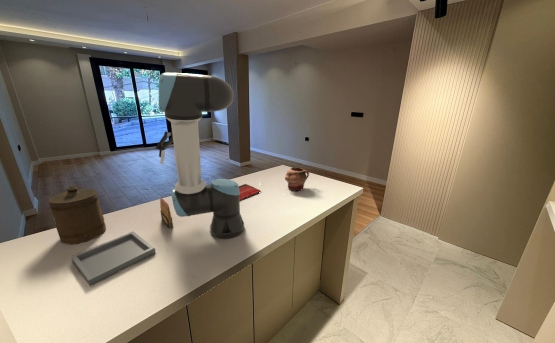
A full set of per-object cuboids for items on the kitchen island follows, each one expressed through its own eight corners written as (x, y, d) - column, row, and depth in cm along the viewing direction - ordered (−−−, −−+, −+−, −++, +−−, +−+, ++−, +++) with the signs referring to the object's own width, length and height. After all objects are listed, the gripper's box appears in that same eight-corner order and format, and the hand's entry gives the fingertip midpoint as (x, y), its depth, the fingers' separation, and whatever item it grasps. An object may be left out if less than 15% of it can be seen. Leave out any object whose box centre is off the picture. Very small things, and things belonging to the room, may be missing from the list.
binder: (220, 192, 137) (245, 183, 152) (220, 195, 138) (245, 186, 153) (237, 200, 128) (262, 190, 143) (237, 204, 128) (262, 193, 144)
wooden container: (82, 224, 101) (70, 179, 95) (114, 225, 101) (104, 180, 94) (49, 244, 87) (32, 192, 81) (86, 245, 87) (72, 194, 80)
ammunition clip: (161, 219, 107) (158, 197, 104) (165, 218, 108) (162, 196, 105) (169, 228, 100) (165, 204, 96) (173, 227, 101) (170, 203, 97)
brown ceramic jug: (300, 182, 162) (302, 164, 158) (313, 187, 153) (315, 168, 149) (280, 188, 150) (280, 169, 145) (292, 194, 141) (293, 174, 137)
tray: (155, 253, 84) (154, 247, 83) (90, 286, 68) (88, 280, 68) (134, 236, 94) (133, 231, 93) (72, 262, 78) (70, 256, 77)
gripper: (206, 129, 119) (203, 167, 116) (157, 124, 115) (152, 164, 112) (204, 124, 112) (201, 165, 109) (151, 119, 108) (146, 161, 105)
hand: (176, 164), depth 110 cm, fingers open, 13 cm apart
